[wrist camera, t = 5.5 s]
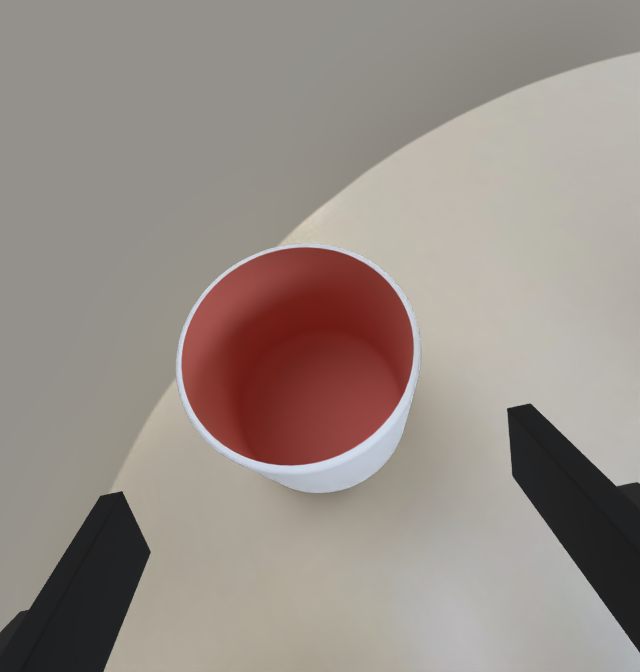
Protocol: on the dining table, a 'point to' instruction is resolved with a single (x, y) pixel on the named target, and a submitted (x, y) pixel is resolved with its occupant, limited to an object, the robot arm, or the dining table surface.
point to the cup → (301, 366)
